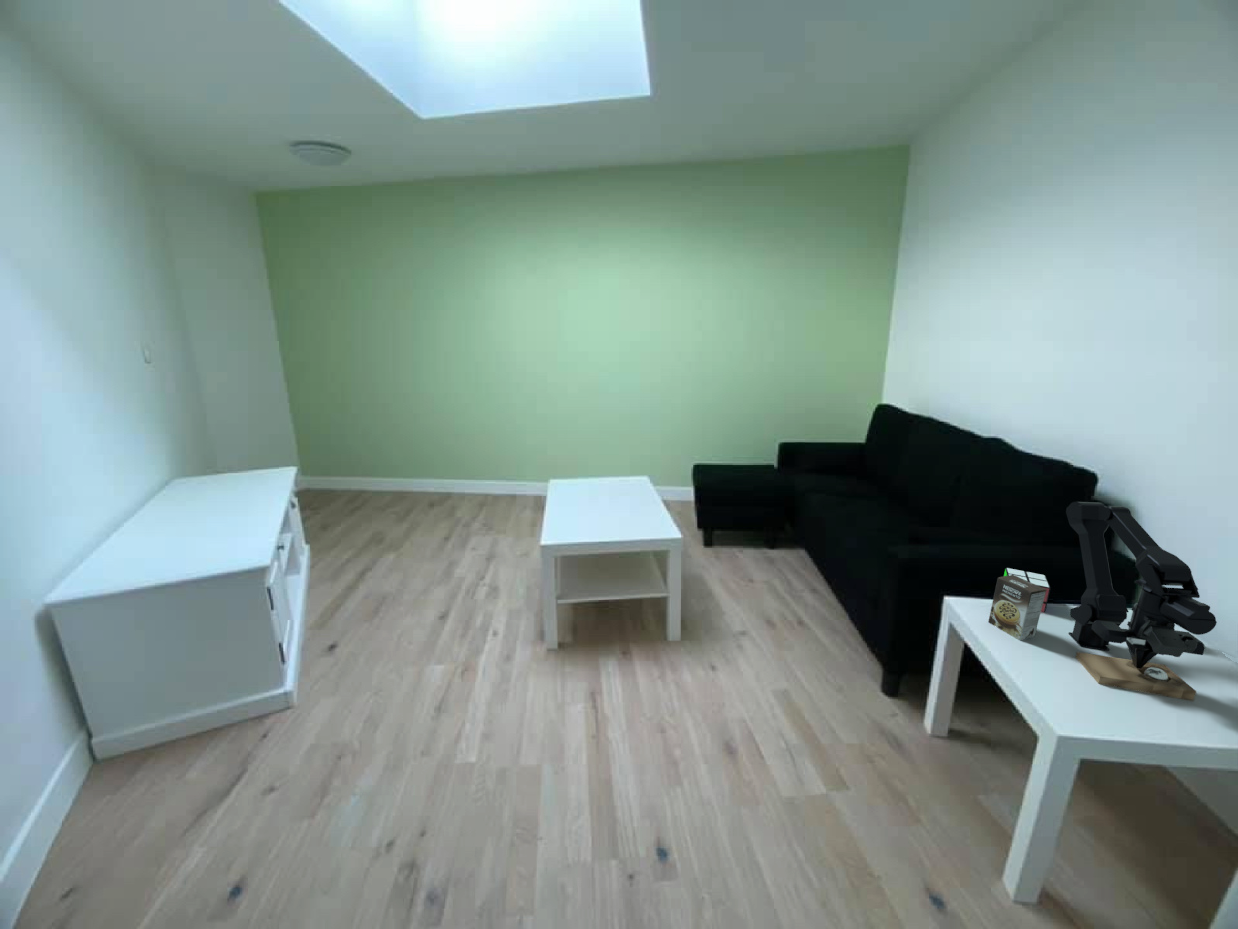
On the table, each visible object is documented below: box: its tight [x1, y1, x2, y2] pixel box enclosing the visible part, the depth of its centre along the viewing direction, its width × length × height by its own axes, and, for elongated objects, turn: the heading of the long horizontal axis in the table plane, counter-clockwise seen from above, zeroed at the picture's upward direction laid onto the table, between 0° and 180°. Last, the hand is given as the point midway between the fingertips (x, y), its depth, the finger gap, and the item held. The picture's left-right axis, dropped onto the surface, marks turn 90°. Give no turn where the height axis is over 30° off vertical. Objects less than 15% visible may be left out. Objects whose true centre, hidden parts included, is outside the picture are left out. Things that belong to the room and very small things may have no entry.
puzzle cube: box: [1003, 567, 1052, 614], centre depth 154 cm, size 10×10×10 cm
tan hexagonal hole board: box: [1075, 651, 1197, 701], centre depth 122 cm, size 18×10×2 cm, turn 73°
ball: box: [1143, 667, 1168, 682], centre depth 120 cm, size 4×4×4 cm
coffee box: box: [988, 575, 1046, 641], centre depth 139 cm, size 9×6×16 cm
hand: (1137, 667), depth 121 cm, fingers closed
